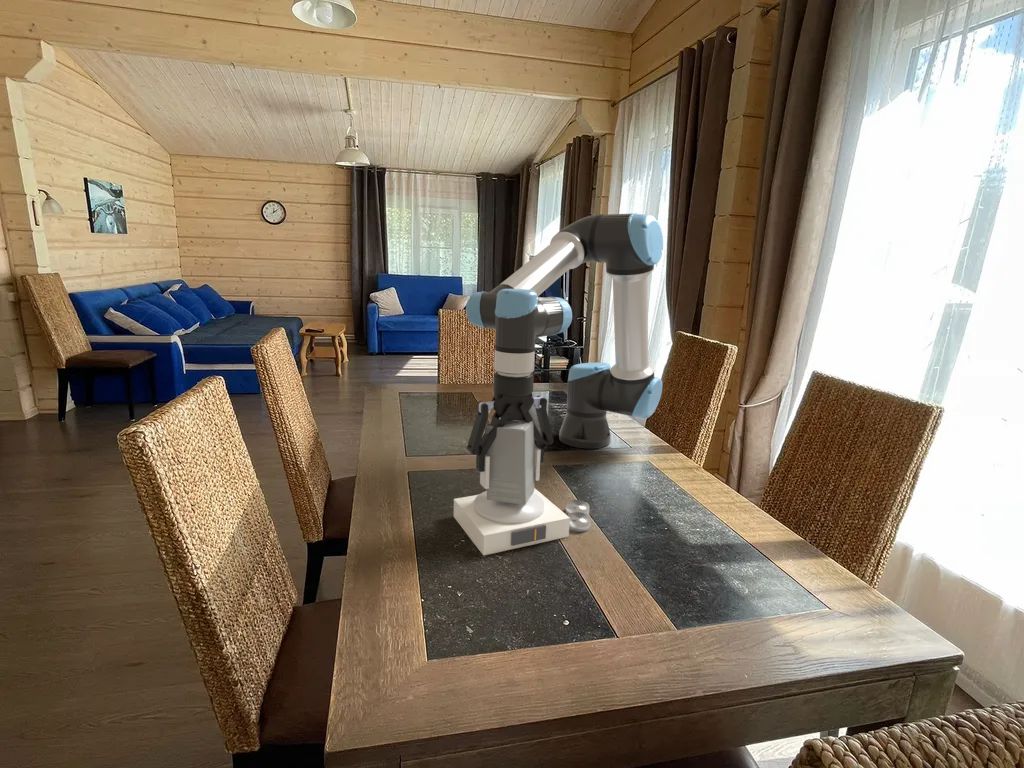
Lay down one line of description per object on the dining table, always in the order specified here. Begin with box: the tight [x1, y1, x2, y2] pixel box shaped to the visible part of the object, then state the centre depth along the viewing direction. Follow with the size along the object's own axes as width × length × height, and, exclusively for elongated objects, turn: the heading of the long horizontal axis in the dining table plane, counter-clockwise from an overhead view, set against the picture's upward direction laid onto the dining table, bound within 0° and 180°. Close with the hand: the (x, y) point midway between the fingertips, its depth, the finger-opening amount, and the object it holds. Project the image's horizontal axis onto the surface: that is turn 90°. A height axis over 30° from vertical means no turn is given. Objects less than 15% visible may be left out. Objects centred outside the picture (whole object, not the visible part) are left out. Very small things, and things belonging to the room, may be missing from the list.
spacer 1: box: [565, 499, 591, 516], centre depth 116 cm, size 5×5×2 cm
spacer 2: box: [566, 512, 592, 533], centre depth 110 cm, size 5×5×2 cm
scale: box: [453, 487, 570, 556], centre depth 109 cm, size 18×17×5 cm
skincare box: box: [484, 418, 535, 505], centre depth 107 cm, size 8×7×16 cm
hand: (510, 481), depth 108 cm, fingers closed on skincare box, 10 cm apart
